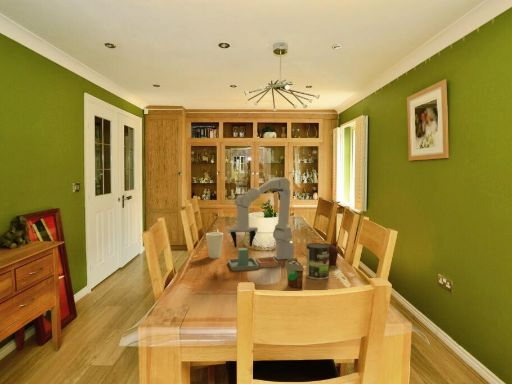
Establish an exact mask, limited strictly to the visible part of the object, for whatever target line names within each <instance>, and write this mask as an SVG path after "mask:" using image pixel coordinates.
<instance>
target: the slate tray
mask: <svg viewBox="0 0 512 384" xmlns="http://www.w3.org/2000/svg"><path fill="white" fill-rule="evenodd" d="M227 264H228V266H229V268H230V269H231V272H238V271H240V272H241V271H254V270H260V268H259V265H258V263H257V262H256V259H255V258H253V257H248V266H239V265H238V258H230V259H229V258H228V262H227Z"/></svg>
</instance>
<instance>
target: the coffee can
mask: <svg viewBox="0 0 512 384" xmlns="http://www.w3.org/2000/svg"><path fill="white" fill-rule="evenodd" d="M329 247H330V246H329V245H327V244H325V243H320V242H313V243H312V242H311V243H307V244H306V264H305V265H306V272H305V275H306V277H307V278H309V279H311V280H317V281H318V280H326V279H328V278H330V266H329Z"/></svg>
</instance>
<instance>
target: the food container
mask: <svg viewBox="0 0 512 384" xmlns="http://www.w3.org/2000/svg"><path fill="white" fill-rule="evenodd" d="M284 267H285V268H286V276H287V279H286V280H287V286H288V287H289V288H291V289H296V290H303V283H304V282H303V281H304V280H303V278H304V276H303V275H304V265H302V264H301V263H300V262H299V261H298V257H294V258H292V259H286V261H285V266H284Z"/></svg>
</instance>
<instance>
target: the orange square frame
mask: <svg viewBox="0 0 512 384" xmlns="http://www.w3.org/2000/svg"><path fill="white" fill-rule="evenodd" d="M255 261H256V262H257V263H258V265H259V269H260V268H261V269H262V268H273V267H275V268H277V267H278V265H279V264H278V263H279V262H278V260H277V259H275V257H274V256H265V257H255Z"/></svg>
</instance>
